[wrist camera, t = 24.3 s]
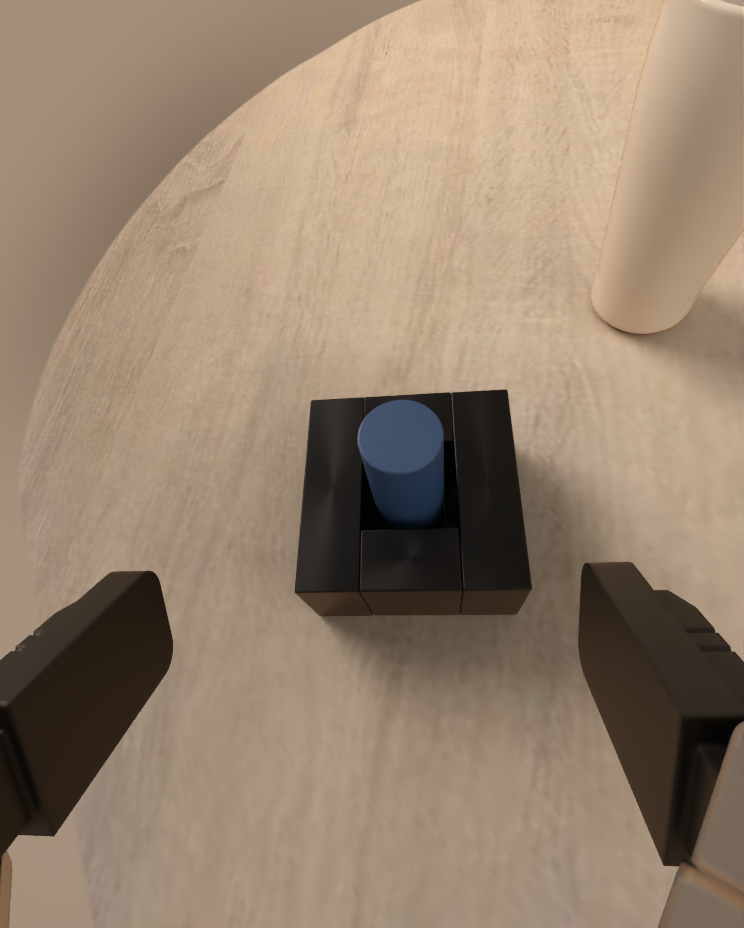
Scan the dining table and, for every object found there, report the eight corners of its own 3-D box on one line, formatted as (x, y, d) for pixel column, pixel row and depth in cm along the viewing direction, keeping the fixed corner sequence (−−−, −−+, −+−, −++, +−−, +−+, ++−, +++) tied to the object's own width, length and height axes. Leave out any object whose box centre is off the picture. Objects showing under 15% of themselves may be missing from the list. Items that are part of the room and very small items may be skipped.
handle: (369, 531, 26) (337, 447, 18) (405, 483, 27) (388, 384, 19) (422, 566, 24) (411, 491, 17) (457, 514, 25) (462, 422, 18)
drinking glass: (564, 267, 32) (649, -65, 19) (681, 254, 31) (856, -99, 18) (587, 355, 29) (708, 31, 15) (718, 343, 28) (962, -6, 15)
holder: (319, 616, 24) (294, 592, 20) (329, 447, 28) (310, 400, 24) (517, 614, 23) (532, 589, 19) (498, 439, 27) (507, 388, 23)
